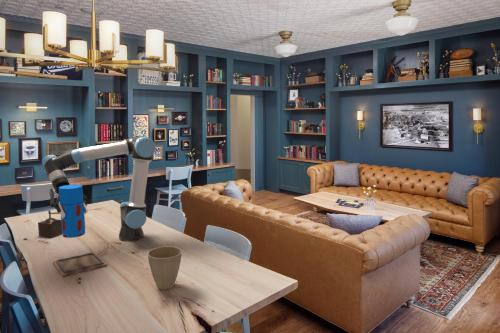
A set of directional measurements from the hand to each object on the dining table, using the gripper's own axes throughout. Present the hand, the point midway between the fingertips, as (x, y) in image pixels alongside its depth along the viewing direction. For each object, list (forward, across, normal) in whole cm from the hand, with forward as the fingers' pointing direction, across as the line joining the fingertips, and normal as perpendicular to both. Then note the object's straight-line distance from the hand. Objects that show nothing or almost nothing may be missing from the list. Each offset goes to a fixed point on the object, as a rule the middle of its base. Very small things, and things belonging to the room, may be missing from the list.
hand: (75, 214), depth 188 cm
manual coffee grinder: (-25, -16, -64) cm, 71 cm away
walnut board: (+19, 0, -19) cm, 27 cm away
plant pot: (+57, -13, +19) cm, 62 cm away
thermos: (+6, 0, -10) cm, 12 cm away
